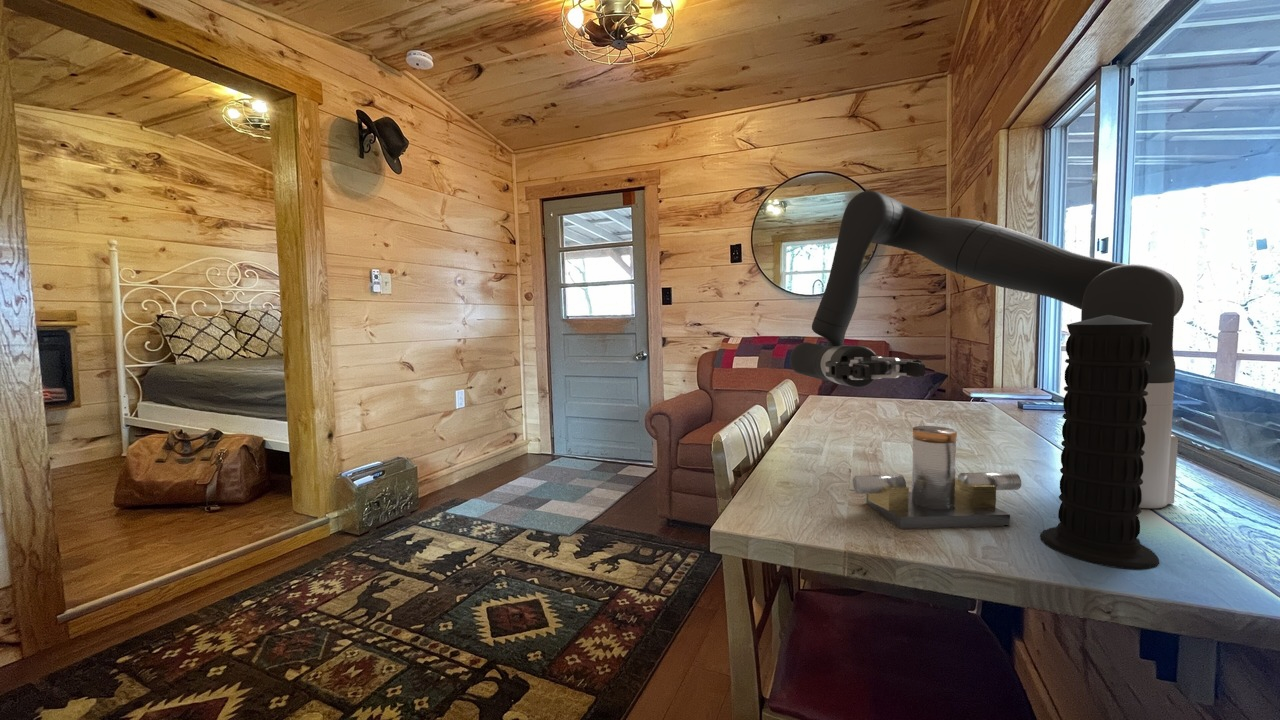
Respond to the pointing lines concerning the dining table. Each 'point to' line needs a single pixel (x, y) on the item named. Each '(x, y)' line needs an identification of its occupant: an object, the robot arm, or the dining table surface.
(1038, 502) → the dining table surface
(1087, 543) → the handle grip
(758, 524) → the dining table surface
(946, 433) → the grey cylinder
